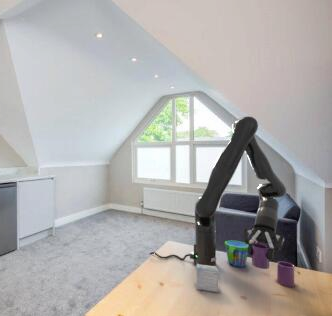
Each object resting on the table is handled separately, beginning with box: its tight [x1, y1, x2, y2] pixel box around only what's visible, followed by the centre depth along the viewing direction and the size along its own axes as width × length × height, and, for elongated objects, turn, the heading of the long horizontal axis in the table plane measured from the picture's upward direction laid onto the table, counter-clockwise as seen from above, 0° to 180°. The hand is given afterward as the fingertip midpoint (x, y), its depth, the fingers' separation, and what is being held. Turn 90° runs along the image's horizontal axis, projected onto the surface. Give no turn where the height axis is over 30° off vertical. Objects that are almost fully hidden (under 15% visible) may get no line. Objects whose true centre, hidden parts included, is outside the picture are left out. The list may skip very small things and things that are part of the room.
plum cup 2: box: [276, 261, 295, 288], centre depth 103 cm, size 6×6×8 cm
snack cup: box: [224, 239, 249, 268], centre depth 122 cm, size 16×10×10 cm
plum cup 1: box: [251, 242, 270, 270], centre depth 98 cm, size 6×6×8 cm
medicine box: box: [195, 264, 219, 293], centre depth 100 cm, size 8×4×9 cm, turn 71°
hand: (259, 255), depth 96 cm, fingers closed on plum cup 1, 5 cm apart
